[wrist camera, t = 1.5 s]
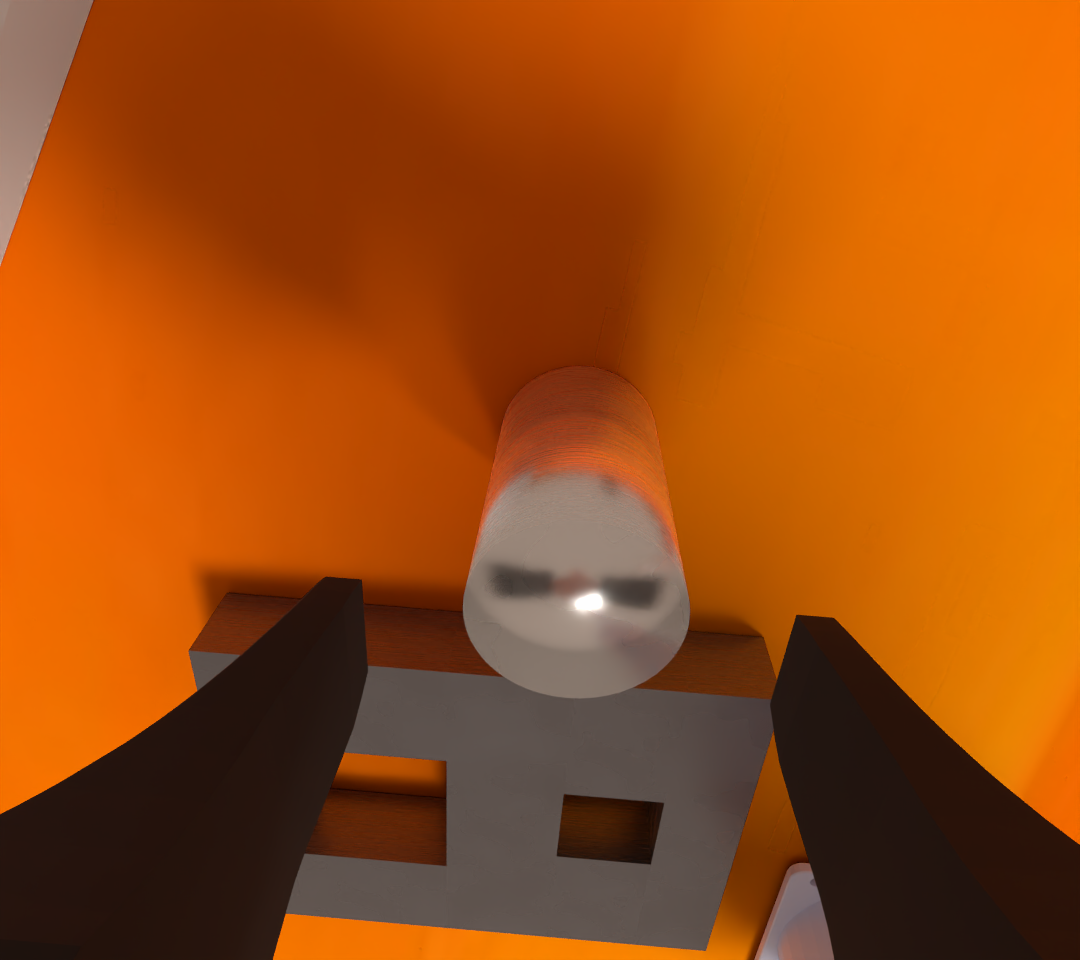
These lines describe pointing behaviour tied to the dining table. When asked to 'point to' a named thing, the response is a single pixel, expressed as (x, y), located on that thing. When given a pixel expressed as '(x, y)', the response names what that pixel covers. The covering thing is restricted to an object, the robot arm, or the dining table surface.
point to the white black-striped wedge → (31, 88)
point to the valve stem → (577, 542)
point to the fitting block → (531, 786)
